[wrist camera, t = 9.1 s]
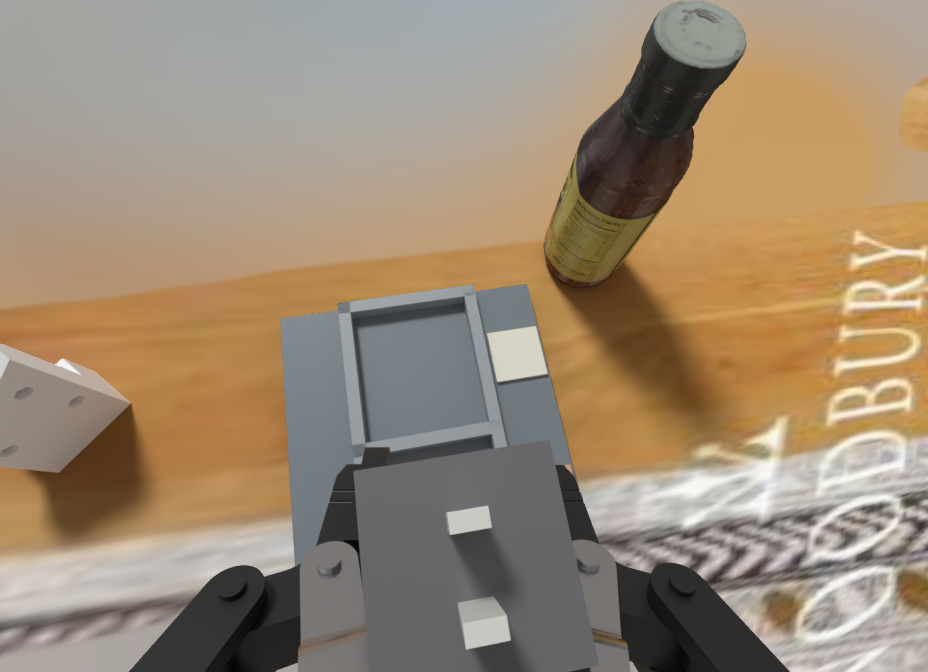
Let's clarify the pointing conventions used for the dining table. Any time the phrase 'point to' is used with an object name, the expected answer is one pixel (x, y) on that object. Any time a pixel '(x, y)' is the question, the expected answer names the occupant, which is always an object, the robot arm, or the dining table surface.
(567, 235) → the sauce bottle
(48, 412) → the white wedge bracket
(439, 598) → the plug
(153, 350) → the dining table surface
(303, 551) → the grey tray
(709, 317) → the dining table surface
